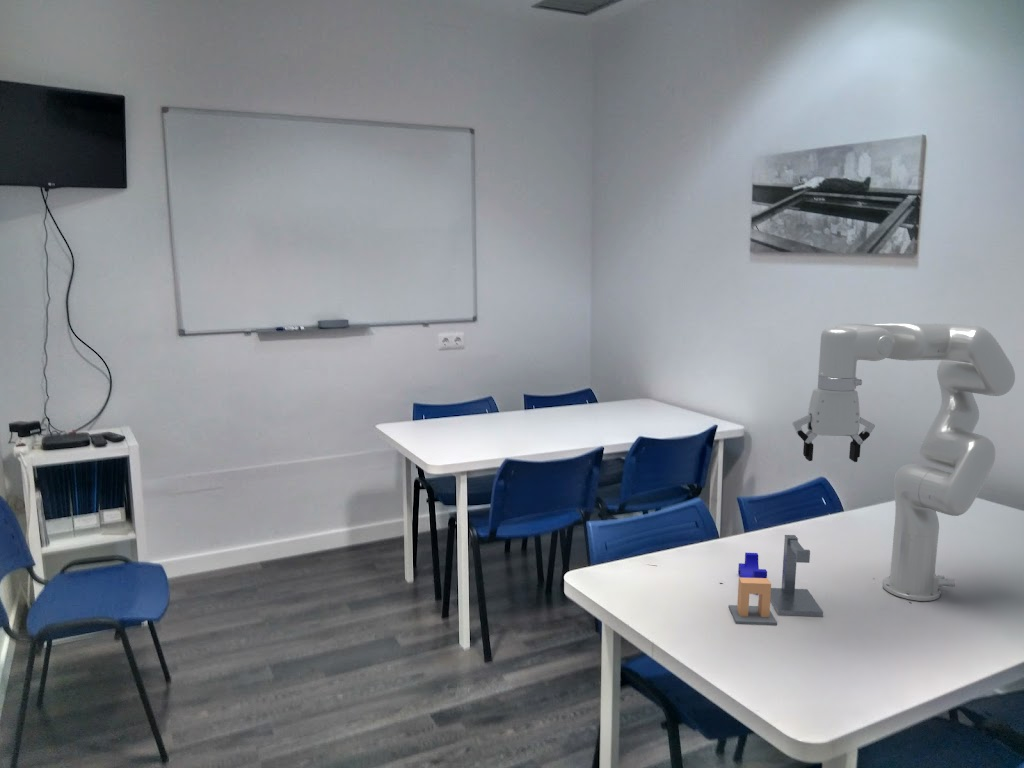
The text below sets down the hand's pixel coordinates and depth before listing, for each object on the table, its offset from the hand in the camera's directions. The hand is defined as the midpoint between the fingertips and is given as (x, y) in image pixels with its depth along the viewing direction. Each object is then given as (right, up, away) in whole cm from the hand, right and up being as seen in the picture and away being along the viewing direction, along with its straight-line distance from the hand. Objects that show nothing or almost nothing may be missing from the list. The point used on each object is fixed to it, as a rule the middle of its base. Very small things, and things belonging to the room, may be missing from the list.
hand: (830, 460), depth 168 cm
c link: (-16, -36, +4) cm, 39 cm away
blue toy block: (-11, -34, +22) cm, 41 cm away
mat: (-16, -36, +4) cm, 40 cm away
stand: (-5, -35, +10) cm, 37 cm away
